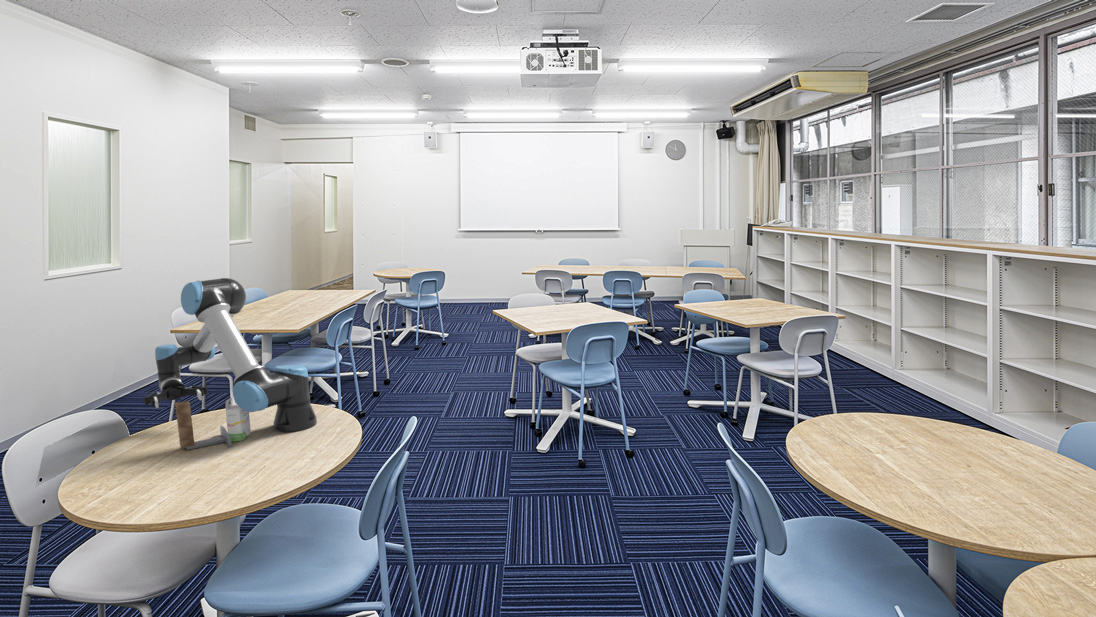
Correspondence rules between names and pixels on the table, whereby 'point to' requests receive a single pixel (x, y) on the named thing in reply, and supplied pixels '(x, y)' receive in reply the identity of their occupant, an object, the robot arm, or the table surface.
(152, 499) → the table surface
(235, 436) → the ink box
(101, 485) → the table surface
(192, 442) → the wooden post on rail
